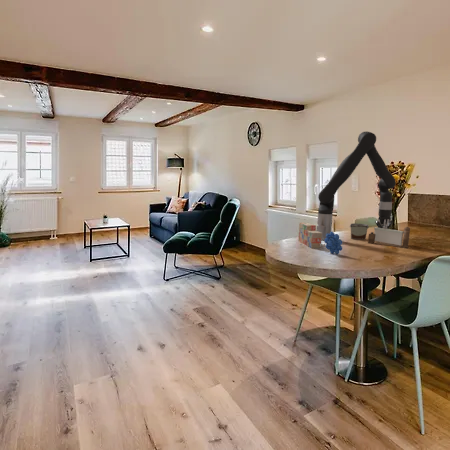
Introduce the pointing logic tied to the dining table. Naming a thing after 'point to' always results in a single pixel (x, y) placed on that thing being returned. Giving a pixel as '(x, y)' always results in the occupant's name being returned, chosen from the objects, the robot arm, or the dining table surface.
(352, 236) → the food container
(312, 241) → the stack of blocks
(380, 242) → the sill
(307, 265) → the dining table surface
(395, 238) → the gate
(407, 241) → the hinge post
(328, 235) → the grapes
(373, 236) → the latch post
